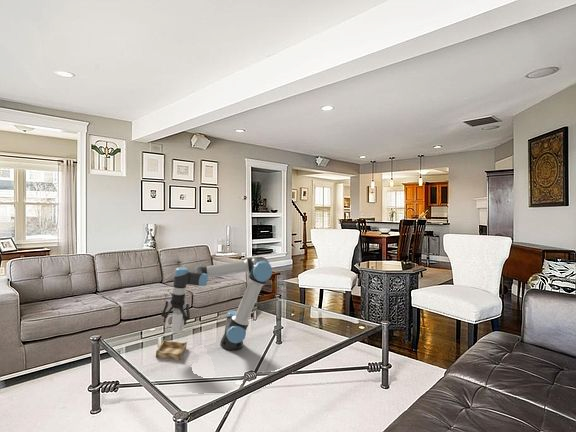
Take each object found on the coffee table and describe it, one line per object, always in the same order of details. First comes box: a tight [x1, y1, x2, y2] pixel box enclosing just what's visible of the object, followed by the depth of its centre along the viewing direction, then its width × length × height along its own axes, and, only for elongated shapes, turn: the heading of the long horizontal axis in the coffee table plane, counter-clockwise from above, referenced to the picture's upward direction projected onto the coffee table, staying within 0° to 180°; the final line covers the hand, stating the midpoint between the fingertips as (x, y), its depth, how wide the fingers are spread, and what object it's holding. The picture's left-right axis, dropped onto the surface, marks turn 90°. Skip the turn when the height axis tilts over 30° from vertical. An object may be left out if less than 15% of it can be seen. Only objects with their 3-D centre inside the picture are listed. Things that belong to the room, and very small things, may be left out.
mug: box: [166, 309, 184, 334], centre depth 210 cm, size 10×7×12 cm, turn 114°
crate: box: [155, 339, 188, 361], centre depth 212 cm, size 14×14×4 cm
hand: (174, 328), depth 211 cm, fingers closed on mug, 9 cm apart
